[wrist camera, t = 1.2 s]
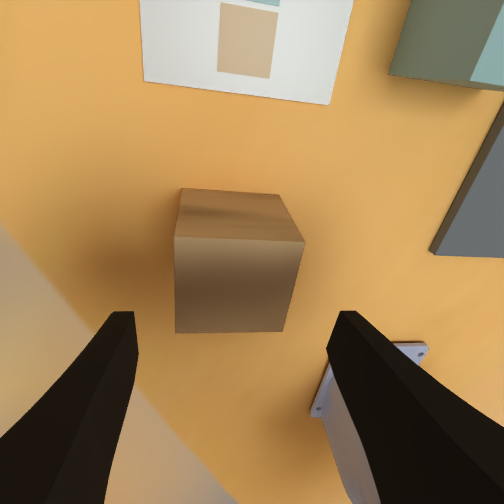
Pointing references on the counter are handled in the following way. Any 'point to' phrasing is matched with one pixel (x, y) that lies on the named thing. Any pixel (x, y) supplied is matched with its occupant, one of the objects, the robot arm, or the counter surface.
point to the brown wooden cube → (234, 262)
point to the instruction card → (246, 45)
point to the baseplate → (478, 205)
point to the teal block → (453, 43)
